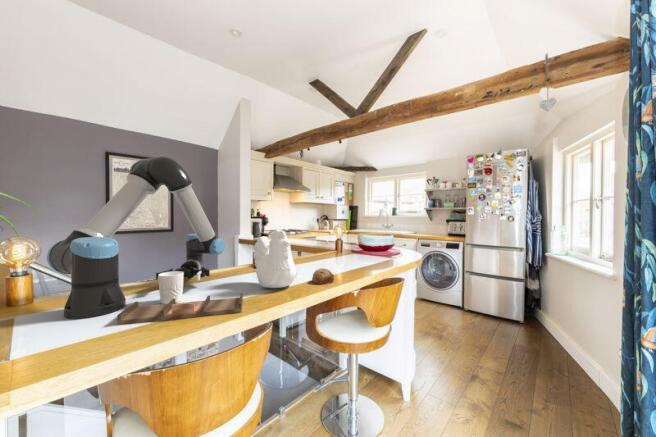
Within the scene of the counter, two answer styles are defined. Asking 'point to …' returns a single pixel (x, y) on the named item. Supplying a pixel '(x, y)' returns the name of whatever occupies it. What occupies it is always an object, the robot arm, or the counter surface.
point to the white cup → (171, 286)
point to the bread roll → (322, 276)
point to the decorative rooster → (274, 260)
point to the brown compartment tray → (179, 310)
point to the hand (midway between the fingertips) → (178, 278)
